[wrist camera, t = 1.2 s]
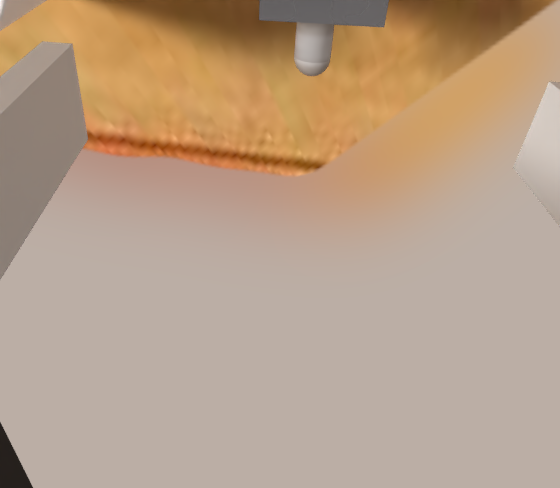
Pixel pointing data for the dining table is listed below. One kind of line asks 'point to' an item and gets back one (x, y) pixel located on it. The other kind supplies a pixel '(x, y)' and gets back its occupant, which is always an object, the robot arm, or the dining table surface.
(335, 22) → the grey slotted block
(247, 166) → the dining table surface
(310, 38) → the peg stand
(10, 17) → the cup
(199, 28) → the dining table surface
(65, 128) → the robot arm
